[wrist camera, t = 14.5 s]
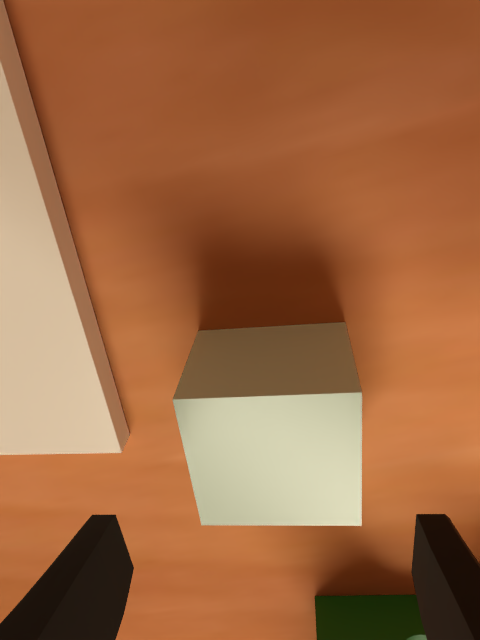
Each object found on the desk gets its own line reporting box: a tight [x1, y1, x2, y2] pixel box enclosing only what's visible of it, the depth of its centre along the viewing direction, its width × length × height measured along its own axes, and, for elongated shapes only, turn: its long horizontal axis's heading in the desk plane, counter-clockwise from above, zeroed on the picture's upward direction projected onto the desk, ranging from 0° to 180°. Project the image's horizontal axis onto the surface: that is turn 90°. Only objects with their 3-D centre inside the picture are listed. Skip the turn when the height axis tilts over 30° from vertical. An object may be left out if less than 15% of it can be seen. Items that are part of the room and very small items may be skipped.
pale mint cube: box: [173, 322, 362, 526], centre depth 15 cm, size 5×5×4 cm
